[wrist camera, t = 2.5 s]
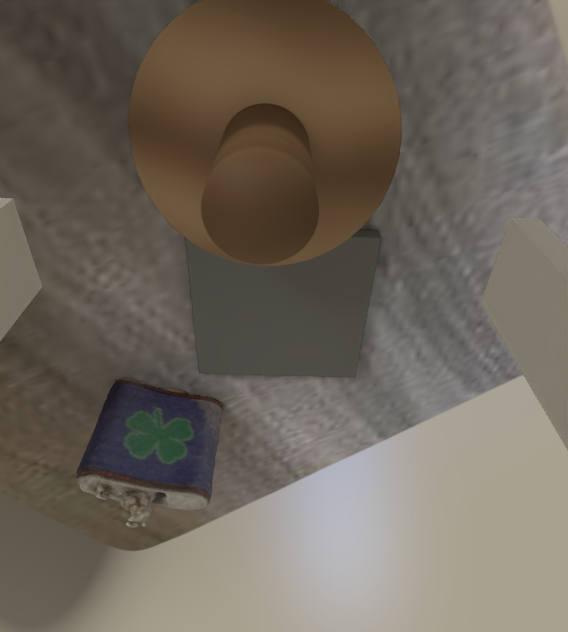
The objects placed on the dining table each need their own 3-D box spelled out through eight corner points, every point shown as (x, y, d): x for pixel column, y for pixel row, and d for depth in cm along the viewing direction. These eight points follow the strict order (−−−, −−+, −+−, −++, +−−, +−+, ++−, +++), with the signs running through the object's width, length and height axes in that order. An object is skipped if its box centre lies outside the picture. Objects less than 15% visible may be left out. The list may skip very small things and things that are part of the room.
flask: (226, 399, 38) (209, 522, 30) (217, 420, 40) (199, 543, 32) (114, 373, 37) (62, 497, 28) (110, 397, 38) (60, 520, 30)
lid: (113, -24, 16) (22, -18, 11) (421, -9, 17) (495, 4, 11) (154, 249, 23) (112, 344, 17) (373, 257, 23) (403, 352, 17)
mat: (187, 223, 29) (184, 231, 28) (378, 230, 29) (381, 237, 28) (200, 364, 36) (199, 373, 35) (353, 368, 36) (355, 377, 35)
